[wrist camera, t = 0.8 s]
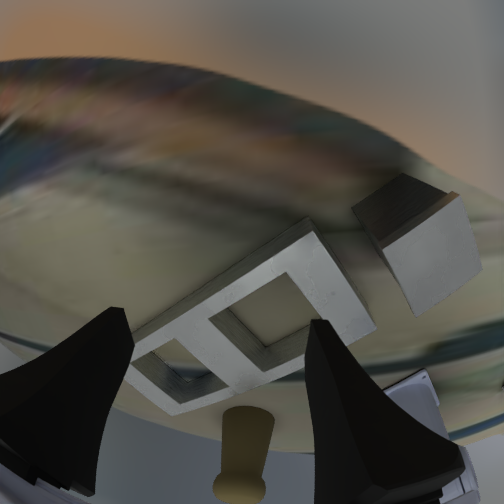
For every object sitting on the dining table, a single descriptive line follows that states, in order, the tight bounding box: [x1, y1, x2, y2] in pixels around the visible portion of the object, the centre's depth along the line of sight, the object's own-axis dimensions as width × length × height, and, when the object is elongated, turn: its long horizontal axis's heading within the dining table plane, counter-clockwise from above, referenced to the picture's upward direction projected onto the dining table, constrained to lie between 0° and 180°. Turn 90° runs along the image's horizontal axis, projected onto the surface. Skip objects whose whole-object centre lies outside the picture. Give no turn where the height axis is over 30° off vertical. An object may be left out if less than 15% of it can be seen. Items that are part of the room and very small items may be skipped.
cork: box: [213, 406, 274, 504], centre depth 24 cm, size 6×6×11 cm
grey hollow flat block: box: [124, 216, 377, 416], centre depth 22 cm, size 9×22×3 cm, turn 128°
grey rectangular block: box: [352, 173, 483, 317], centre depth 15 cm, size 5×5×7 cm
